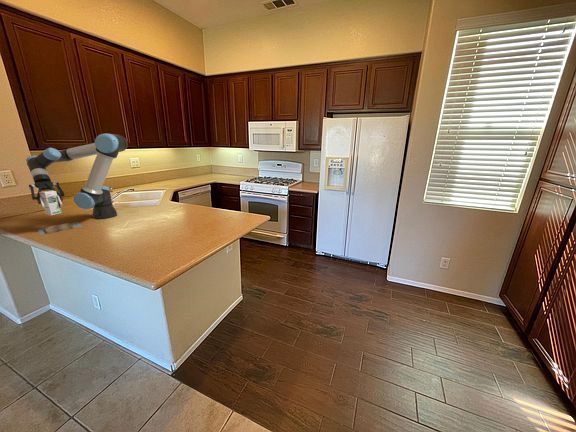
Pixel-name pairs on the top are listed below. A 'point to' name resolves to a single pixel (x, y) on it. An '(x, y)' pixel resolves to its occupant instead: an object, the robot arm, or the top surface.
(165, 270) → the top surface
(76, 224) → the mat
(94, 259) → the top surface
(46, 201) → the syrup box
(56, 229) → the stand
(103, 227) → the top surface
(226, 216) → the top surface
